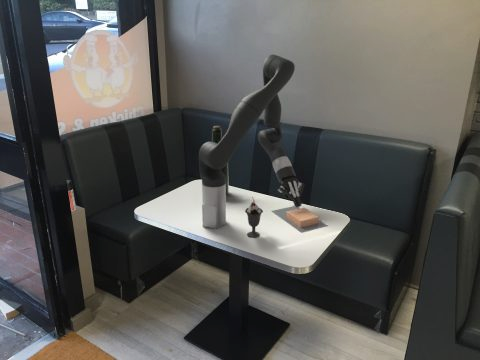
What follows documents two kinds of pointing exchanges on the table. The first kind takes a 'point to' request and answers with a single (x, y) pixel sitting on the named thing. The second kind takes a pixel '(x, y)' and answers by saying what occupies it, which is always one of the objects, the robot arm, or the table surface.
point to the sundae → (253, 218)
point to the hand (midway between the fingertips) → (299, 206)
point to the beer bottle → (217, 138)
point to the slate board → (282, 215)
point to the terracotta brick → (302, 217)
